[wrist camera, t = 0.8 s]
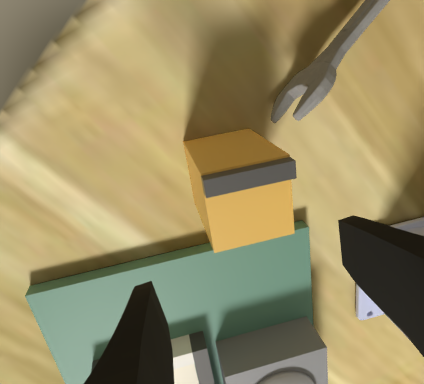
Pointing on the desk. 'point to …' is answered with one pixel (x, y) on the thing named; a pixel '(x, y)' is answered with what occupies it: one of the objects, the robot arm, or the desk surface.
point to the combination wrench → (324, 66)
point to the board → (198, 313)
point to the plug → (241, 188)
